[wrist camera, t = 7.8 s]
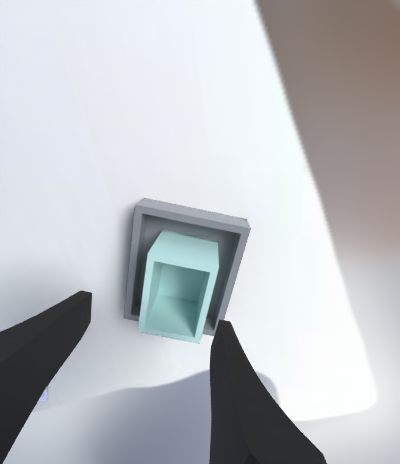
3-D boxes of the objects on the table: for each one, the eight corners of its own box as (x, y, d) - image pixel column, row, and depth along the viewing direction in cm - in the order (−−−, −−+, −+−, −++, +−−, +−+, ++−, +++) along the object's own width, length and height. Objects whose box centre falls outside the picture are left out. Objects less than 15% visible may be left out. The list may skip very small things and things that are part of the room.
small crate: (217, 240, 21) (218, 267, 16) (202, 303, 23) (199, 343, 18) (162, 229, 20) (147, 253, 16) (153, 294, 23) (137, 331, 18)
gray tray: (246, 219, 20) (250, 228, 18) (218, 318, 24) (218, 337, 22) (144, 198, 20) (135, 204, 18) (132, 301, 24) (123, 318, 22)
